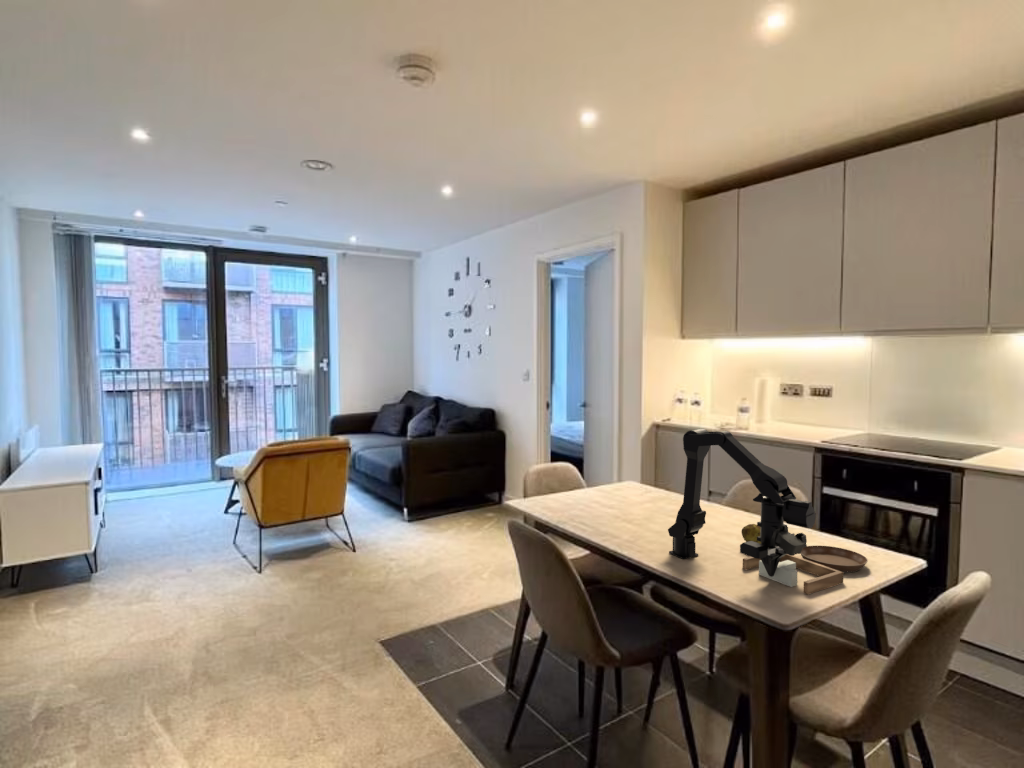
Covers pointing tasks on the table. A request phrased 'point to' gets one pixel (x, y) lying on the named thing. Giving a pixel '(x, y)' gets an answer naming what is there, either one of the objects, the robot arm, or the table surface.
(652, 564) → the table surface
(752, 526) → the potato
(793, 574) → the t block
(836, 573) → the corral
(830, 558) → the plant saucer
